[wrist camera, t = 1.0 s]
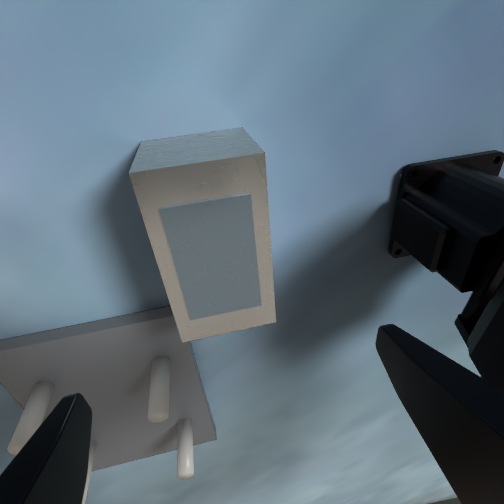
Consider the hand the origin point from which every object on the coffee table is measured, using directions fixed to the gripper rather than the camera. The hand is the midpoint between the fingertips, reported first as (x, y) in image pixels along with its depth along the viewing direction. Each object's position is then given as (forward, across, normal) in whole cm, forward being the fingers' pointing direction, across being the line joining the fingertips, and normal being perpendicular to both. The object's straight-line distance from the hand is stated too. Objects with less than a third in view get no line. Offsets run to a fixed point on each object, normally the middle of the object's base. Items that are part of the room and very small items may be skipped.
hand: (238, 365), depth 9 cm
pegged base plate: (+10, +9, +14) cm, 20 cm away
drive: (+10, 0, 0) cm, 11 cm away
